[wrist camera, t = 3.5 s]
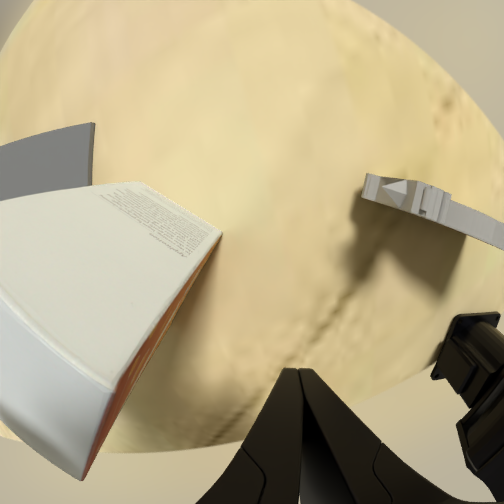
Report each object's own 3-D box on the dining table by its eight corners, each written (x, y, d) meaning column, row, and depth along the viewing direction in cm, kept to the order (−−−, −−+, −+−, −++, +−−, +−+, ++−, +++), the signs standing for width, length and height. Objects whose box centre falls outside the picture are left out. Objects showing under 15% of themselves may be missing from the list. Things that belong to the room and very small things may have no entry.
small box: (170, 328, 18) (82, 485, 6) (98, 279, 17) (-33, 385, 5) (227, 230, 16) (116, 396, 3) (140, 177, 15) (-61, 209, 3)
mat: (95, 123, 14) (91, 122, 14) (112, 357, 19) (109, 360, 19) (-22, 155, 15) (-26, 156, 15) (-3, 315, 20) (-6, 317, 19)
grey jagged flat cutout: (465, 234, 15) (349, 193, 15) (469, 216, 15) (354, 171, 15) (518, 257, 10) (391, 205, 9) (524, 234, 9) (399, 171, 9)
